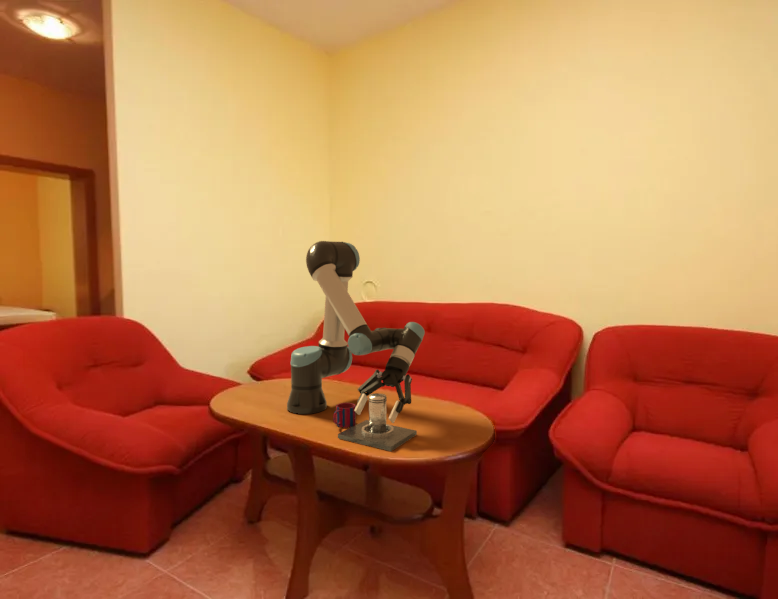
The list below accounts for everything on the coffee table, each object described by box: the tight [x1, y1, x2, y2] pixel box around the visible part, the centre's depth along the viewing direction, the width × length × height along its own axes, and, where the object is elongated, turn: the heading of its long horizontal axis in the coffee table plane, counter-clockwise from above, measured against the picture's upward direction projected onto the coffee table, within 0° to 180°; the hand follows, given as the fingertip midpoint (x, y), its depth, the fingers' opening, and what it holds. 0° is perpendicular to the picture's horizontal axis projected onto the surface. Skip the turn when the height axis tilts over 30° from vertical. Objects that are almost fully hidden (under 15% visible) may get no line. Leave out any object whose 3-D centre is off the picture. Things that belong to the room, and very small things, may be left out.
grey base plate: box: [337, 419, 418, 452], centre depth 152 cm, size 20×16×3 cm
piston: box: [368, 392, 388, 433], centre depth 152 cm, size 6×6×12 cm
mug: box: [332, 402, 357, 429], centre depth 162 cm, size 7×10×7 cm
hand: (373, 416), depth 150 cm, fingers open, 13 cm apart
